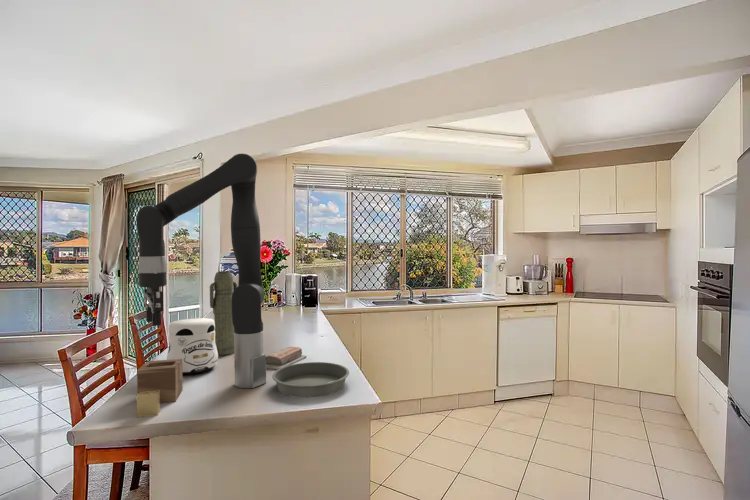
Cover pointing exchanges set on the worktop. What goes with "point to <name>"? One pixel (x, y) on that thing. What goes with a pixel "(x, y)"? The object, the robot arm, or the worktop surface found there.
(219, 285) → the thermos
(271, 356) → the packaged product
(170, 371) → the brown wooden box
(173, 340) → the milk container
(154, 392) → the token
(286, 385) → the cake pan
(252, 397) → the worktop surface
